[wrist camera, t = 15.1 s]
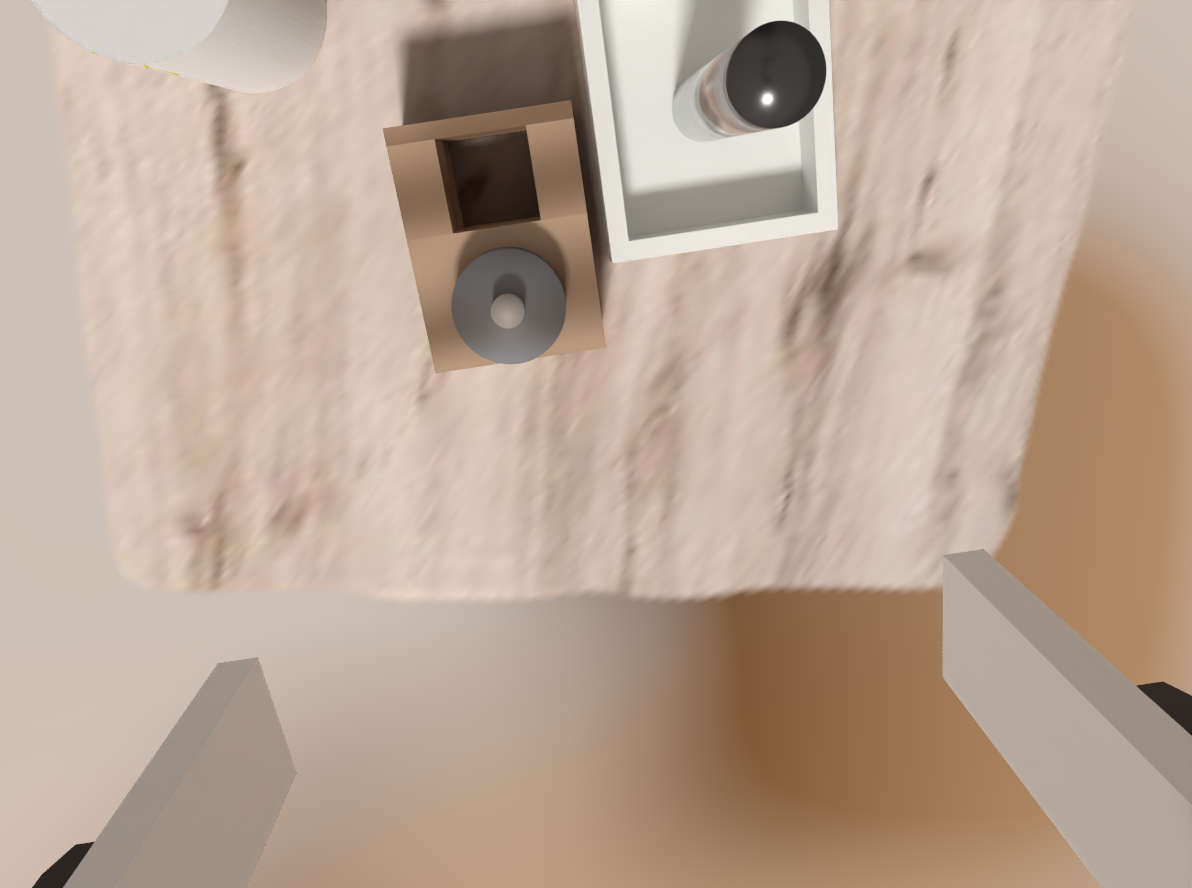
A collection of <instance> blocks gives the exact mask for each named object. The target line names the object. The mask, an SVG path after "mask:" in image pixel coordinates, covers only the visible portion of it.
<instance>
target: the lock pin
mask: <svg viewBox="0 0 1192 888" xmlns="http://www.w3.org/2000/svg"><path fill="white" fill-rule="evenodd" d="M825 81H826V60H825V56H824V53H823V50H822V47H821V45H820V44H819V42H818V40H817V39H816V37H815V36H814V35H813V34H812V33H811V32H810V31H809V30H807V29H806V28H805V27H803V26H801V25H799V24H797V23H794V22H790V21H772V22H768V23H765V24H763V25H761V26H759V27H757V28H755V29H754V30H753V31H751V32H750V33H748V34H747V35H746V36H744V37H743V38H742V39H740V40H739V41H738V42H736V43H735V44H734V45H732V46H731V47H729V48H728V49H727V50H725V51H724V52H723V53H721V54H720V55H719V56H717V57H716V58H714V59H713V60H712V61H710V62H709V63H708V64H706V65H705V66H704V67H702V68H701V69H700V70H698V71H697V72H695V73H694V74H693V75H691V76H690V77H689V78H687V79H686V80H685V81H684V82H683V83H682V84H681V85H680V86H679V88H678V89H677V91H676V93H675V95H674V98H673V103H672V115H673V119H674V122H675V124H676V126H677V128H678V130H679V131H680V132H681V133H682V134H683V135H684V136H685V137H687V138H688V139H690V140H693V141H696V142H709V141H715V140H720V139H725V138H730V137H735V136H740V135H745V134H751V133H756V132H761V131H766V130H771V129H776V128H781V127H786V126H789V125H792V124H794V123H796V122H798V121H800V120H801V119H802V118H804V117H805V116H806V115H807V114H808V113H809V112H810V111H811V110H812V109H813V108H814V107H815V105H816V104H817V102H818V100H819V98H820V97H821V94H822V92H823V89H824V85H825Z"/></svg>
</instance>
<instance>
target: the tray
mask: <svg viewBox="0 0 1192 888" xmlns="http://www.w3.org/2000/svg"><path fill="white" fill-rule="evenodd" d="M574 3H575V10H576V18H577V25H578V33H579V40H580V47H581V55H582V62H583V70H584V77H585V84H586V92H587V99H588V107H589V114H590V121H591V129H592V136H593V144H594V151H595V158H596V166H597V173H598V181H599V188H600V195H601V203H602V210H603V218H604V225H605V232H606V240H607V247H608V255H609V258H610V260H611V262H612V263H618V262H625V261H631V260H638V259H645V258H651V257H658V256H665V255H671V254H678V253H684V252H691V251H698V250H704V249H711V248H717V247H724V246H731V245H737V244H744V243H750V242H757V241H764V240H770V239H777V238H783V237H790V236H797V235H803V234H810V233H816V232H823V231H830V230H836V229H838V216H837V191H836V166H835V141H834V116H833V91H832V66H831V41H830V15H829V0H574ZM772 21H790V22H794V23H797V24H799V25H801V26H803V27H805V28H806V29H807V30H809V31H810V32H811V33H812V34H813V35H814V36H815V37H816V39H817V40H818V42H819V44H820V45H821V47H822V50H823V53H824V56H825V60H826V81H825V85H824V89H823V92H822V94H821V97H820V98H819V100H818V102H817V104H816V105H815V107H814V108H813V109H812V110H811V111H810V112H809V113H808V114H807V115H806V116H805V117H804V118H802V119H801V120H800V121H798V122H796V123H794V124H792V125H789V126H786V127H781V128H776V129H771V130H766V131H761V132H756V133H751V134H745V135H740V136H735V137H730V138H725V139H720V140H715V141H709V142H696V141H693V140H690V139H688V138H687V137H685V136H684V135H683V134H682V133H681V132H680V131H679V130H678V128H677V126H676V124H675V122H674V119H673V115H672V103H673V98H674V95H675V93H676V91H677V89H678V88H679V86H680V85H681V84H682V83H683V82H684V81H685V80H686V79H687V78H689V77H690V76H691V75H693V74H694V73H695V72H697V71H698V70H700V69H701V68H702V67H704V66H705V65H706V64H708V63H709V62H710V61H712V60H713V59H714V58H716V57H717V56H719V55H720V54H721V53H723V52H724V51H725V50H727V49H728V48H729V47H731V46H732V45H734V44H735V43H736V42H738V41H739V40H740V39H742V38H743V37H744V36H746V35H747V34H748V33H750V32H751V31H753V30H754V29H755V28H757V27H759V26H761V25H763V24H765V23H768V22H772Z"/></svg>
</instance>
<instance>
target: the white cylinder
mask: <svg viewBox="0 0 1192 888" xmlns="http://www.w3.org/2000/svg"><path fill="white" fill-rule="evenodd" d="M31 1H32V3H33V4H34V5H35V7H36V8H37V9H38V10H39V12H40V13H41V14H42V15H43V16H44V17H45V18H46V19H47V21H48V22H49V23H50V24H51V25H53V26H54V27H55V28H56V29H57V30H58V31H59V32H60V33H62V34H63V35H64V36H65V37H67V38H68V39H70V40H71V41H72V42H74V43H76V44H77V45H79V46H80V47H82V48H84V49H86V50H88V51H90V52H92V53H94V54H96V55H99V56H101V57H104V58H107V59H111V60H114V61H118V62H122V63H126V64H130V65H135V66H139V67H143V68H147V69H151V70H155V71H159V72H163V73H167V74H171V75H175V76H179V77H184V78H188V79H192V80H196V81H200V82H204V83H208V84H212V85H216V86H220V87H224V88H229V89H233V90H237V91H241V92H248V93H264V92H270V91H275V90H278V89H281V88H283V87H285V86H288V85H289V84H291V83H293V82H294V81H296V80H297V79H298V78H300V77H301V76H302V75H303V74H304V73H305V72H306V71H307V70H308V69H309V67H310V66H311V65H312V63H313V62H314V60H315V59H316V57H317V55H318V53H319V51H320V48H321V46H322V43H323V39H324V35H325V30H326V18H327V14H326V1H325V0H31Z"/></svg>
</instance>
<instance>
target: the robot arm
mask: <svg viewBox="0 0 1192 888" xmlns="http://www.w3.org/2000/svg"><path fill="white" fill-rule="evenodd" d="M943 678H944V679H945V681H946V682H947V683H948V685H949V686H950V687H951V689H952V690H953V691H954V693H955V694H956V695H957V697H958V698H959V699H960V700H961V702H962V703H963V705H964V706H965V707H966V709H967V710H968V711H969V713H970V714H971V715H972V716H973V718H974V719H975V720H976V722H977V723H978V724H979V726H980V727H981V728H982V730H983V731H984V732H985V734H986V735H987V736H988V738H989V739H990V740H991V742H992V743H993V744H994V746H995V747H996V748H997V750H998V751H999V752H1000V753H1001V755H1002V756H1003V757H1004V759H1005V760H1006V762H1007V763H1008V764H1009V766H1010V767H1011V768H1012V769H1013V771H1014V772H1015V773H1016V775H1017V776H1018V777H1019V779H1020V780H1021V781H1022V783H1023V784H1024V785H1025V787H1026V788H1027V789H1028V790H1029V792H1030V793H1031V795H1032V796H1033V797H1034V799H1035V800H1036V801H1037V803H1038V804H1039V805H1040V806H1041V808H1042V809H1043V811H1044V812H1045V813H1046V815H1047V816H1048V817H1049V818H1050V820H1051V821H1052V822H1053V824H1054V825H1055V826H1056V828H1057V829H1058V830H1059V832H1060V833H1061V834H1062V836H1063V837H1064V838H1065V840H1066V841H1067V842H1068V844H1069V845H1070V846H1071V847H1072V849H1073V850H1074V852H1075V853H1076V854H1077V856H1078V857H1079V858H1080V860H1081V861H1082V862H1083V863H1084V865H1085V866H1086V867H1087V869H1088V870H1089V871H1090V873H1091V874H1092V875H1093V877H1094V878H1095V879H1096V881H1097V882H1098V883H1099V885H1100V886H1101V887H1102V888H1192V696H1191V695H1189V694H1187V693H1185V692H1183V691H1181V690H1179V689H1177V688H1175V687H1173V686H1171V685H1169V684H1167V683H1165V682H1157V683H1151V684H1144V685H1137V686H1136V685H1134V684H1133V683H1132V682H1131V681H1130V680H1129V679H1128V678H1127V677H1125V676H1124V675H1123V674H1122V673H1121V672H1120V671H1119V670H1118V669H1117V668H1115V667H1114V666H1113V665H1112V664H1111V663H1110V662H1109V661H1107V660H1106V659H1105V658H1104V657H1103V656H1102V655H1101V654H1100V653H1099V652H1098V651H1096V650H1095V649H1094V648H1093V647H1092V646H1091V645H1090V644H1089V643H1088V642H1086V641H1085V640H1084V639H1083V638H1082V637H1081V636H1080V635H1079V634H1077V633H1076V632H1075V631H1074V630H1073V629H1072V628H1071V627H1070V626H1069V625H1067V624H1066V623H1065V622H1064V621H1063V620H1062V619H1061V618H1060V617H1058V616H1057V615H1056V614H1055V613H1054V612H1053V611H1052V610H1051V609H1050V608H1048V607H1047V606H1046V605H1045V604H1044V603H1043V602H1042V601H1041V600H1040V599H1038V598H1037V597H1036V596H1035V595H1034V594H1033V593H1032V592H1031V591H1029V590H1028V589H1027V588H1026V587H1025V586H1024V585H1023V584H1022V583H1021V582H1019V581H1018V580H1017V579H1016V578H1015V577H1014V576H1013V575H1012V574H1010V573H1009V572H1008V571H1007V570H1006V569H1005V568H1004V567H1003V566H1001V565H1000V564H999V563H998V562H997V561H996V560H995V559H994V558H993V557H991V556H990V555H989V554H988V553H987V552H986V551H985V550H984V549H982V550H975V551H969V552H962V553H955V554H949V555H943ZM295 775H296V770H295V767H294V764H293V761H292V758H291V755H290V752H289V749H288V746H287V743H286V740H285V737H284V734H283V731H282V728H281V725H280V722H279V719H278V716H277V713H276V710H275V707H274V704H273V701H272V698H271V695H270V692H269V689H268V686H267V683H266V681H265V677H264V675H263V671H262V668H261V666H260V663H259V660H258V658H251V659H244V660H238V661H231V662H224V663H218V664H217V666H216V667H215V669H214V670H213V671H212V673H211V674H210V676H209V677H208V679H207V680H206V682H205V683H204V685H203V686H202V687H201V689H200V690H199V692H198V693H197V695H196V696H195V697H194V699H193V700H192V702H191V703H190V705H189V706H188V708H187V709H186V711H185V712H184V713H183V715H182V716H181V718H180V719H179V721H178V722H177V724H176V725H175V727H174V728H173V729H172V731H171V732H170V734H169V735H168V737H167V738H166V740H165V741H164V742H163V744H162V745H161V747H160V748H159V750H158V751H157V752H156V754H155V755H154V757H153V758H152V760H151V761H150V763H149V764H148V766H147V767H146V768H145V770H144V771H143V773H142V774H141V776H140V777H139V779H138V780H137V781H136V783H135V784H134V786H133V787H132V789H131V790H130V792H129V793H128V794H127V796H126V797H125V799H124V800H123V802H122V803H121V805H120V806H119V808H118V809H117V810H116V812H115V813H114V815H113V816H112V818H111V819H110V821H109V822H108V823H107V825H106V827H105V828H104V829H103V831H102V832H101V834H100V835H99V836H98V838H97V839H96V841H95V842H90V843H84V844H77V845H75V846H74V847H72V848H71V849H70V850H69V851H68V852H67V853H66V854H65V855H63V856H62V857H61V858H60V859H59V860H58V861H57V862H56V863H54V865H52V866H51V867H50V868H49V869H48V870H47V871H46V872H44V873H43V874H42V875H41V876H40V878H39V879H38V880H37V882H36V883H35V885H34V886H33V887H32V888H247V886H248V884H249V881H250V879H251V876H252V874H253V872H254V870H255V868H256V865H257V863H258V861H259V858H260V856H261V854H262V851H263V849H264V847H265V845H266V842H267V840H268V838H269V835H270V833H271V831H272V828H273V826H274V824H275V822H276V819H277V817H278V815H279V812H280V810H281V808H282V805H283V803H284V801H285V799H286V796H287V794H288V792H289V789H290V787H291V785H292V782H293V780H294V778H295Z"/></svg>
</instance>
